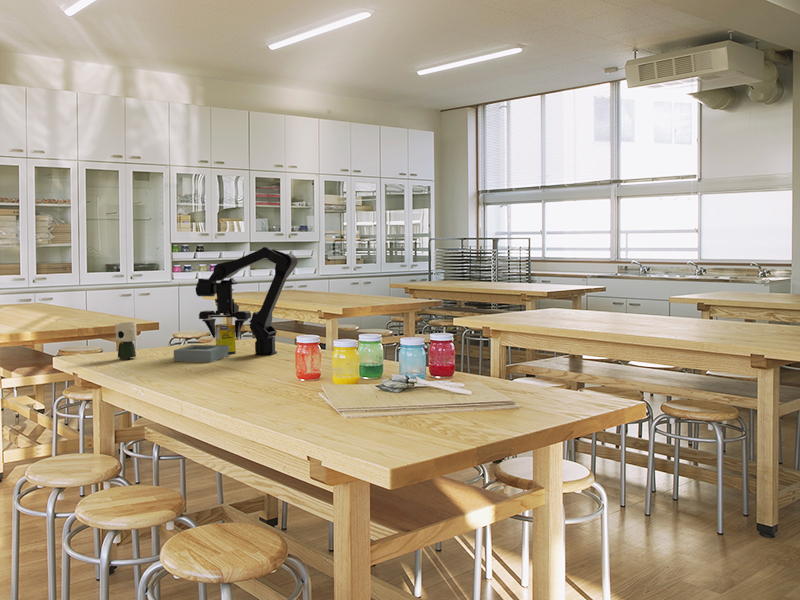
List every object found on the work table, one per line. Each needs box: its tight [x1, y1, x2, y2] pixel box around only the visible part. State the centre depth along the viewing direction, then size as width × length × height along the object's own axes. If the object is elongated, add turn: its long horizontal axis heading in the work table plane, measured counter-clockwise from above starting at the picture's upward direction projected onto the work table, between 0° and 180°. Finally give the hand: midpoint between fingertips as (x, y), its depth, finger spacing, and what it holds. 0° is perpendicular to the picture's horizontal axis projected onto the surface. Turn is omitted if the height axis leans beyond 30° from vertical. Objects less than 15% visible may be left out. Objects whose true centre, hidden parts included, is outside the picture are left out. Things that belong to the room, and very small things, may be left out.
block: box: [173, 344, 229, 363], centre depth 255 cm, size 14×14×4 cm
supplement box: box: [215, 323, 237, 355], centre depth 268 cm, size 6×6×11 cm
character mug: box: [114, 321, 138, 360], centre depth 256 cm, size 11×7×13 cm, turn 49°
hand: (225, 337), depth 268 cm, fingers open, 9 cm apart
